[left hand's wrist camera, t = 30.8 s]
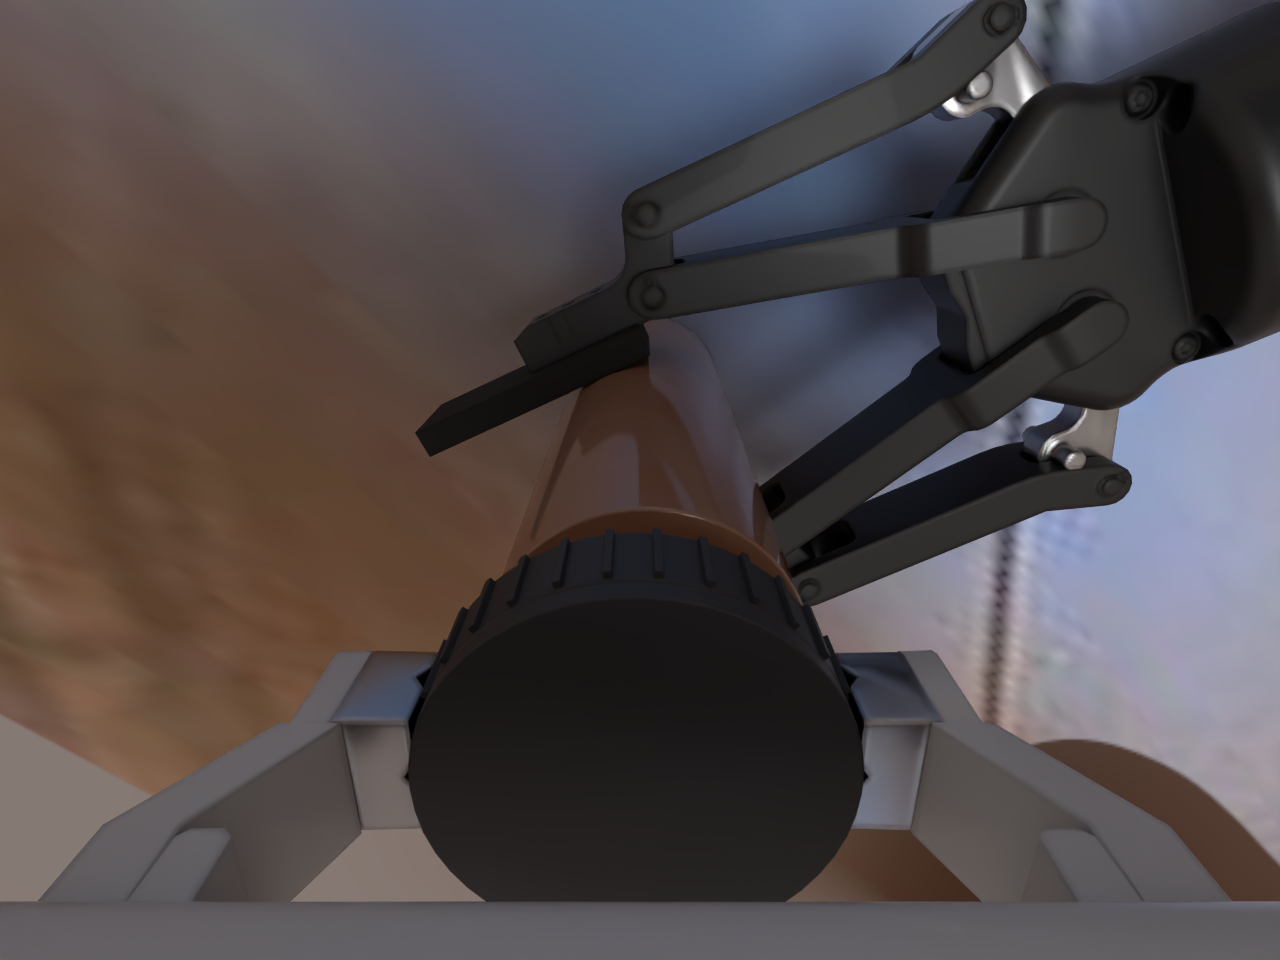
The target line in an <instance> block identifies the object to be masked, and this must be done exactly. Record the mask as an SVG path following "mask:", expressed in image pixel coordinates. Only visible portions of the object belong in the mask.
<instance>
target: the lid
mask: <svg viewBox="0 0 1280 960" xmlns="http://www.w3.org/2000/svg"><path fill="white" fill-rule="evenodd" d="M848 693H851V691H850V688H849V686H848V683H847V681H846V679H845V676H844V674H843V671H842V669H841V667H840V664H839V662H838V659H837V657H836V655H835V652H834V650H833V647H832V645H831V643H830V640H829V638H828V636H827V635H826V636H824V637H823V636H822V633H821V631H820V628H819V626H818V623H817V621H816V618H815V616H814V614H813V611H812V609H811V607H810V606H809V604H808V603H806V604H805V605H803V606H802V605H801V604H800V603H799V602H798V601H797V599H796V598H795V597H794V596H793V595H792V594H791V593H790V592H789V590H788V589H787V586H786V583H785V581H784V578H782V577H781V576H780V575H777V576H776V577H775V578H773V577H772V576H771V575H770V574H768V573H767V572H765V571H763V570H762V569H760V568H759V567H757V566H756V565H754V564H752V563H751V562H750V558H749V555H748V554H746V553H744V552H741V554H740V555H739V556H737V555H735V554H733V553H731V552H728V551H726V550H724V549H722V548H719V547H716V546H713V545H710V544H708V541H707V538H706V537H702V536H699V538H698V540H694V539H689V538H684V537H678V536H673V535H668V534H662V533H661V529H657V528H653V533H641V532H638V533H616V534H615V532H614V529H607V530H606V535H601V536H595V537H589V538H583V539H580V540H576V541H573V542H570V541H569V538H568V537H567V538H564V539H561V541H560V545H559V546H556V547H554V548H552V549H549V550H547V551H545V552H542V553H540V554H538V555H535V556H533V557H531V558H529V557H528V556H527V554H525V555H523V556H521V557H520V558H519V562H518V565H517V566H516V567H514V568H512V569H511V570H509V571H508V572H506V573H505V574H504V575H503V576H501V577H500V578H499V579H498V580H496V581H494V580H493V579H491V578H489V579H488V580H487V581H486V582H485V584H484V587H483V589H482V592H481V595H480V596H479V597H478V598H477V599H476V600H475V601H474V602H473V604H472V605H471V606H470V608H469V609H466V608H464V607H462V608H461V610H460V611H459V613H458V615H457V618H456V620H455V622H454V625H453V627H452V630H451V632H450V634H449V637H448V639H447V640H443V643H442V645H441V647H440V650H439V652H438V654H437V657H436V659H435V661H434V664H433V666H432V668H431V671H430V673H429V675H428V678H427V680H426V682H425V685H424V687H423V689H422V692H421V695H420V697H421V698H424V699H425V702H424V704H423V707H422V709H421V711H420V714H419V716H418V719H417V722H416V726H415V729H414V732H413V736H412V739H411V744H410V752H409V761H408V772H409V788H410V793H411V798H412V802H413V806H414V811H415V813H416V816H417V818H418V821H419V823H420V826H421V828H422V831H423V833H424V835H425V836H426V838H427V840H428V841H429V843H430V845H431V846H432V848H433V850H434V851H435V853H436V854H437V855H438V857H439V858H440V859H441V860H442V862H443V863H444V864H445V865H446V867H447V868H448V869H449V870H450V871H451V872H452V873H453V874H454V875H455V876H456V877H457V878H458V879H459V880H460V881H461V882H462V883H463V884H464V885H465V886H466V887H467V888H469V889H470V890H471V891H473V892H474V893H475V894H477V895H478V896H479V897H481V898H482V899H483V900H485V901H486V902H786V901H787V900H789V899H790V898H792V897H793V896H794V895H796V894H797V893H799V892H800V891H801V890H803V889H804V888H805V887H806V886H807V885H808V884H809V883H810V882H811V881H812V880H814V879H815V878H816V877H817V876H818V875H819V874H820V873H821V872H822V871H823V869H824V868H825V867H826V866H827V865H828V863H829V862H830V861H831V860H832V859H833V858H834V856H835V855H836V853H837V852H838V850H839V849H840V847H841V845H842V844H843V842H844V841H845V839H846V838H847V836H848V833H849V831H850V829H851V827H852V824H853V822H854V820H855V818H856V815H857V811H858V807H859V804H860V800H861V796H862V791H863V779H864V758H863V746H862V742H861V738H860V735H859V731H858V727H857V723H856V721H855V718H854V716H853V713H852V711H851V708H850V706H849V704H848V699H849V696H848Z"/></svg>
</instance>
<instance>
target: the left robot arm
mask: <svg viewBox="0 0 1280 960" xmlns="http://www.w3.org/2000/svg"><path fill="white" fill-rule="evenodd" d="M437 654H438V652H408V651H375V652H374V651H341V652H339V653H337V654H336V655H335V656H334V657H333V659H332V660H331V662H330V663H329V665H328V666H327V668H326V669H325V671H324V672H323V674H322V675H321V677H320V678H319V680H318V681H317V683H316V684H315V686H314V687H313V689H312V690H311V692H310V693H309V695H308V696H307V698H306V699H305V701H304V702H303V704H302V705H301V707H300V708H299V710H298V711H297V713H296V714H295V716H294V717H293V719H292V720H291V722H290V723H278V724H276V725H274V726H273V727H271V728H269V729H268V730H266V731H264V732H262V733H261V734H259V735H257V736H255V737H254V738H252V739H250V740H249V741H247V742H245V743H243V744H242V745H240V746H238V747H236V748H235V749H233V750H231V751H230V752H228V753H226V754H224V755H223V756H221V757H219V758H217V759H216V760H214V761H212V762H211V763H209V764H207V765H205V766H204V767H202V768H200V769H198V770H197V771H195V772H193V773H192V774H190V775H188V776H186V777H185V778H183V779H181V780H180V781H178V782H176V783H174V784H173V785H171V786H169V787H167V788H166V789H164V790H162V791H161V792H159V793H157V794H155V795H154V796H152V797H150V798H148V799H147V800H145V801H143V802H142V803H140V804H138V805H136V806H135V807H133V808H131V809H129V810H128V811H126V812H124V813H123V814H121V815H119V816H117V817H116V818H114V819H112V820H110V821H109V822H107V823H105V824H104V825H102V826H101V828H100V829H99V830H98V831H97V832H96V833H95V835H94V836H93V837H92V838H91V839H90V840H89V842H88V843H87V844H86V845H85V846H84V847H83V849H82V850H81V851H80V852H79V853H78V855H77V856H76V857H75V858H74V859H73V860H72V861H71V863H70V864H69V865H68V866H67V868H66V869H65V870H64V871H63V872H62V873H61V874H60V876H59V877H58V878H57V879H56V880H55V881H54V883H53V884H52V885H51V886H50V887H49V888H48V890H47V891H46V892H45V893H44V894H43V895H42V897H41V898H40V899H39V900H38V901H37V902H0V960H1280V902H1232V901H1231V899H1230V898H1229V897H1228V896H1227V895H1226V893H1225V892H1224V891H1223V890H1222V889H1221V887H1220V886H1219V885H1218V884H1217V883H1216V881H1215V880H1214V879H1213V878H1212V877H1211V875H1210V874H1209V873H1208V872H1207V871H1206V869H1205V868H1204V867H1203V866H1202V865H1201V863H1200V862H1199V861H1198V860H1197V859H1196V857H1195V856H1194V855H1193V854H1192V853H1191V851H1190V850H1189V849H1188V848H1187V847H1186V845H1185V844H1184V843H1183V842H1182V841H1181V839H1180V838H1179V837H1178V836H1177V835H1176V833H1175V832H1174V831H1173V830H1172V829H1171V827H1170V826H1168V825H1167V824H1165V823H1163V822H1162V821H1160V820H1158V819H1156V818H1155V817H1153V816H1151V815H1150V814H1148V813H1146V812H1144V811H1143V810H1141V809H1139V808H1138V807H1136V806H1134V805H1132V804H1131V803H1129V802H1127V801H1126V800H1124V799H1122V798H1121V797H1119V796H1117V795H1116V794H1114V793H1112V792H1110V791H1109V790H1107V789H1105V788H1104V787H1102V786H1100V785H1098V784H1097V783H1095V782H1093V781H1092V780H1090V779H1088V778H1086V777H1085V776H1083V775H1081V774H1080V773H1078V772H1076V771H1075V770H1073V769H1071V768H1069V767H1068V766H1066V765H1064V764H1063V763H1061V762H1059V761H1058V760H1056V759H1054V758H1052V757H1051V756H1049V755H1047V754H1046V753H1044V752H1042V751H1041V750H1039V749H1037V748H1035V747H1034V746H1032V745H1030V744H1029V743H1027V742H1025V741H1023V740H1022V739H1020V738H1018V737H1017V736H1015V735H1013V734H1012V733H1010V732H1008V731H1006V730H1005V729H1003V728H1001V727H1000V726H998V725H996V724H994V723H982V721H981V719H980V718H979V716H978V715H977V713H976V712H975V710H974V709H973V707H972V706H971V704H970V703H969V701H968V700H967V698H966V697H965V695H964V694H963V692H962V691H961V689H960V688H959V686H958V685H957V683H956V682H955V680H954V679H953V677H952V676H951V674H950V673H949V671H948V669H947V668H946V666H945V665H944V663H943V662H942V660H941V659H940V657H939V656H938V654H937V653H935V652H933V651H932V650H924V651H898V652H872V653H835V655H836V657H837V659H838V662H839V664H840V667H841V669H842V671H843V674H844V676H845V679H846V681H847V683H848V686H849V688H850V691H851V693H848V696H849V699H848V704H849V706H850V708H851V711H852V713H853V716H854V718H855V721H856V723H857V727H858V731H859V735H860V738H861V742H862V746H863V758H864V779H863V791H862V796H861V800H860V804H859V807H858V811H857V815H856V818H855V820H854V822H853V824H852V827H851V828H860V829H897V830H912V832H911V833H912V834H913V835H914V836H915V837H916V838H917V839H918V840H919V841H920V842H921V843H922V844H923V845H924V846H925V847H926V848H927V849H928V850H929V851H931V852H932V853H933V854H934V855H935V856H936V857H937V858H938V859H939V860H940V861H941V862H942V863H943V864H944V865H945V866H946V867H947V868H948V869H949V870H950V871H951V872H952V873H953V874H954V875H955V876H956V877H957V878H958V879H959V880H960V881H961V882H962V883H964V884H965V885H966V886H967V887H968V888H969V889H970V890H971V891H972V892H973V893H974V894H975V895H976V896H977V897H978V898H979V899H980V900H981V901H982V902H290V901H291V900H293V899H294V898H295V897H296V896H297V895H298V894H299V893H300V892H301V891H302V890H303V889H304V888H305V887H306V886H307V885H308V884H309V883H310V882H311V881H312V880H313V879H314V878H315V877H317V876H318V875H319V874H320V873H321V872H322V871H323V870H324V869H325V868H326V867H327V866H328V865H329V864H330V863H331V862H332V861H333V860H334V859H335V858H336V857H337V856H338V855H340V854H341V853H342V852H343V851H344V850H345V849H346V848H347V847H348V846H349V845H350V844H351V843H352V842H353V841H354V840H355V839H356V838H357V837H358V836H359V835H360V834H361V830H376V829H411V828H421V826H420V823H419V821H418V818H417V816H416V813H415V811H414V806H413V802H412V798H411V793H410V788H409V772H408V761H409V752H410V744H411V739H412V736H413V732H414V729H415V726H416V722H417V719H418V716H419V714H420V711H421V709H422V707H423V704H424V702H425V699H424V698H421V697H420V695H421V692H422V689H423V687H424V685H425V682H426V680H427V678H428V675H429V673H430V671H431V668H432V666H433V664H434V661H435V659H436V657H437Z"/></svg>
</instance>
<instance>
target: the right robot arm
mask: <svg viewBox="0 0 1280 960" xmlns="http://www.w3.org/2000/svg"><path fill="white" fill-rule="evenodd" d="M1026 15H1027V7H1026V4H1025V1H1024V0H973V1H971V2H969V3H967V4H966V5H964V6H962V7H960V8H959V9H957V10H955V11H954V12H952V13H950V14H949V15H947V16H946V17H944V18H943V19H941V20H940V21H939V22H938V23H937V24H936V25H935V26H934V27H933V28H932V29H931V30H930V31H928V32H927V33H926V34H925V35H924V36H923V37H922V38H921V39H920V40H919V41H918V42H917V43H916V44H915V45H914V46H913V47H912V48H911V49H910V50H909V51H908V52H907V53H906V54H905V55H904V56H903V57H902V58H901V59H900V60H898V61H897V62H896V63H895V64H894V65H893V66H892V67H891V68H890V69H889V70H888V71H887V72H886V73H884V74H882V75H879V76H877V77H875V78H873V79H871V80H869V81H867V82H865V83H862V84H860V85H858V86H856V87H854V88H852V89H850V90H848V91H845V92H843V93H841V94H839V95H837V96H835V97H833V98H831V99H828V100H826V101H824V102H822V103H820V104H818V105H816V106H814V107H811V108H809V109H807V110H805V111H803V112H801V113H799V114H796V115H794V116H792V117H790V118H788V119H786V120H784V121H782V122H779V123H777V124H775V125H773V126H771V127H769V128H767V129H765V130H762V131H760V132H758V133H756V134H754V135H752V136H750V137H748V138H745V139H743V140H741V141H739V142H737V143H735V144H733V145H731V146H728V147H726V148H724V149H722V150H720V151H718V152H716V153H714V154H711V155H709V156H707V157H705V158H703V159H701V160H699V161H697V162H694V163H692V164H690V165H688V166H686V167H684V168H682V169H680V170H677V171H675V172H673V173H671V174H669V175H667V176H665V177H663V178H660V179H658V180H656V181H654V182H652V183H650V184H648V185H646V186H643V187H641V188H639V189H637V190H636V191H634V192H633V193H631V194H630V195H629V196H628V197H627V199H626V201H625V202H624V204H623V208H622V221H623V232H624V244H625V255H626V257H625V265H624V267H623V269H622V271H621V273H620V274H619V275H618V276H617V277H616V278H615V279H613V280H612V281H610V282H608V283H606V284H604V285H602V286H600V287H598V288H595V289H593V290H591V291H589V292H587V293H585V294H583V295H581V296H579V297H577V298H575V299H573V300H571V301H568V302H567V303H564V304H562V305H560V306H558V307H556V308H554V309H552V310H550V311H548V312H546V313H544V314H541V315H539V316H537V317H535V318H534V319H533V320H532V321H531V322H530V323H529V325H528V326H527V327H526V328H525V329H524V330H523V331H522V333H521V334H520V335H519V336H518V337H517V339H516V340H515V341H514V343H515V345H516V347H517V349H518V351H519V353H520V354H521V356H522V358H523V360H524V362H525V364H526V365H525V366H522V367H520V368H518V369H516V370H514V371H512V372H510V373H508V374H505V375H503V376H501V377H499V378H497V379H495V380H493V381H491V382H488V383H486V384H484V385H482V386H480V387H478V388H476V389H474V390H471V391H469V392H467V393H465V394H463V395H461V396H459V397H457V398H454V399H452V400H450V401H448V402H446V403H444V404H442V405H441V406H440V407H439V408H438V409H437V410H436V411H435V412H434V413H433V414H432V415H431V416H430V417H429V418H428V420H427V421H426V422H425V423H424V424H423V425H422V426H421V427H420V428H419V429H418V430H417V431H416V432H415V433H416V435H417V437H418V438H419V440H420V441H421V443H422V445H423V446H424V448H425V450H426V451H427V453H428V455H429V456H430V457H431V456H433V455H435V454H437V453H439V452H442V451H444V450H446V449H448V448H450V447H453V446H455V445H457V444H459V443H461V442H463V441H466V440H468V439H470V438H472V437H474V436H477V435H479V434H481V433H483V432H485V431H487V430H490V429H492V428H494V427H496V426H498V425H500V424H503V423H505V422H507V421H509V420H511V419H514V418H516V417H518V416H520V415H522V414H524V413H527V412H529V411H531V410H533V409H535V408H538V407H540V406H542V405H544V404H546V403H548V402H551V401H553V400H555V399H557V398H559V397H561V396H564V395H566V394H568V393H570V392H572V391H575V390H577V389H579V388H581V387H583V386H585V385H588V384H590V383H592V382H594V381H596V380H599V379H601V378H603V377H605V376H607V375H609V374H612V373H614V372H616V371H618V370H620V369H622V368H625V367H627V366H629V365H631V364H633V363H636V362H638V361H640V360H642V359H644V358H646V357H649V356H650V346H649V335H648V333H647V331H646V329H645V326H644V323H646V322H648V321H650V320H661V319H666V318H672V317H678V316H683V315H689V314H695V313H701V312H706V311H712V310H718V309H723V308H729V307H735V306H741V305H746V304H752V303H758V302H763V301H769V300H775V299H781V298H786V297H792V296H798V295H804V294H809V293H815V292H821V291H826V290H832V289H838V288H844V287H849V286H855V285H861V284H866V283H872V282H878V281H884V280H889V279H895V278H902V277H920V280H921V283H922V285H923V286H924V288H925V289H926V291H927V292H928V294H929V295H930V297H931V298H932V300H933V301H934V303H935V304H936V307H937V335H938V339H939V342H940V346H939V347H937V348H936V349H934V350H933V351H932V352H930V353H929V354H928V355H926V356H925V357H924V358H922V359H921V360H920V361H919V362H917V363H916V364H915V365H914V367H913V368H912V370H911V373H910V375H909V376H908V377H907V378H906V379H905V380H904V381H902V382H901V383H900V384H898V385H897V386H896V387H894V388H893V389H892V390H890V391H889V392H887V393H886V394H885V395H883V396H882V397H881V398H879V399H878V400H877V401H875V402H874V403H873V404H871V405H870V406H869V407H867V408H866V409H864V410H863V411H862V412H860V413H859V414H858V415H856V416H855V417H854V418H852V419H851V420H850V421H848V422H847V423H845V424H844V425H843V426H841V427H840V428H839V429H837V430H836V431H835V432H833V433H832V434H831V435H829V436H828V437H827V438H825V439H824V440H822V441H821V442H820V443H818V444H817V445H816V446H814V447H813V448H812V449H810V450H809V451H808V452H806V453H805V454H803V455H802V456H801V457H799V458H798V459H797V460H795V461H794V462H793V463H791V464H790V465H789V466H787V467H786V468H784V469H783V470H782V471H780V472H779V473H778V474H776V475H775V476H774V477H772V478H771V479H770V480H768V481H767V482H766V483H764V484H763V485H761V486H760V490H761V493H762V495H763V498H764V501H765V504H766V506H767V509H768V512H769V514H770V517H771V520H772V523H773V525H774V528H775V531H776V533H777V536H778V539H779V542H780V544H781V547H782V550H783V552H784V555H785V558H786V561H787V563H788V566H789V569H790V571H791V574H792V577H793V579H794V582H795V585H796V588H797V590H798V593H799V596H800V598H801V601H802V604H803V605H805V604H806V603H808V604H809V606H814V605H817V604H820V603H822V602H825V601H827V600H830V599H832V598H835V597H837V596H839V595H842V594H844V593H847V592H849V591H852V590H854V589H857V588H859V587H862V586H864V585H866V584H869V583H871V582H874V581H876V580H879V579H881V578H884V577H886V576H888V575H891V574H893V573H896V572H898V571H901V570H903V569H906V568H908V567H911V566H913V565H915V564H918V563H920V562H923V561H925V560H928V559H930V558H933V557H935V556H938V555H940V554H942V553H945V552H947V551H950V550H952V549H955V548H957V547H960V546H962V545H964V544H967V543H969V542H972V541H974V540H977V539H979V538H982V537H984V536H987V535H989V534H991V533H994V532H996V531H999V530H1001V529H1004V528H1006V527H1009V526H1011V525H1014V524H1016V523H1018V522H1021V521H1023V520H1026V519H1028V518H1031V517H1033V516H1036V515H1038V514H1041V513H1043V512H1045V511H1054V510H1064V509H1074V508H1085V507H1095V506H1105V505H1110V504H1114V503H1116V502H1118V501H1119V500H1121V499H1123V498H1124V497H1125V495H1126V494H1127V493H1128V492H1129V490H1130V487H1131V484H1132V477H1131V474H1130V473H1129V471H1128V470H1127V469H1126V468H1124V467H1122V466H1120V465H1119V464H1117V463H1115V462H1113V461H1112V455H1113V448H1114V441H1115V434H1116V427H1117V420H1118V413H1119V408H1120V407H1123V406H1125V405H1127V404H1129V403H1131V402H1132V401H1134V400H1136V399H1137V398H1138V397H1140V396H1141V395H1142V394H1143V393H1144V392H1145V391H1146V390H1147V389H1148V388H1149V387H1150V386H1151V385H1152V384H1153V383H1154V382H1155V381H1156V380H1157V379H1159V378H1160V377H1161V376H1162V375H1164V374H1165V373H1167V372H1168V371H1170V370H1171V369H1173V368H1175V367H1177V366H1179V365H1182V364H1184V363H1188V362H1191V361H1195V360H1198V359H1202V358H1206V357H1210V356H1214V355H1217V354H1221V353H1224V352H1228V351H1231V350H1234V349H1237V348H1240V347H1242V346H1245V345H1247V344H1250V343H1252V342H1255V341H1257V340H1260V339H1262V338H1265V337H1267V336H1269V335H1272V334H1274V333H1277V332H1279V331H1280V1H1279V2H1276V3H1271V4H1267V5H1263V6H1260V7H1258V8H1255V9H1252V10H1250V11H1247V12H1245V13H1243V14H1241V15H1239V16H1237V17H1235V18H1233V19H1231V20H1229V21H1226V22H1224V23H1222V24H1220V25H1218V26H1216V27H1214V28H1212V29H1210V30H1207V31H1205V32H1203V33H1201V34H1199V35H1197V36H1195V37H1193V38H1191V39H1188V40H1186V41H1184V42H1182V43H1180V44H1178V45H1176V46H1174V47H1172V48H1170V49H1167V50H1165V51H1163V52H1161V53H1159V54H1157V55H1155V56H1153V57H1151V58H1148V59H1146V60H1144V61H1142V62H1140V63H1138V64H1136V65H1134V66H1132V67H1129V68H1127V69H1125V70H1123V71H1121V72H1119V73H1117V74H1115V75H1113V76H1111V77H1108V78H1106V79H1104V80H1102V81H1100V82H1097V83H1094V84H1085V83H1076V82H1063V83H1057V84H1054V85H1051V86H1050V85H1049V84H1048V82H1047V81H1046V79H1045V78H1044V76H1043V74H1042V73H1041V71H1040V70H1039V68H1038V67H1037V65H1036V64H1035V62H1034V61H1033V59H1032V58H1031V56H1030V55H1029V53H1028V52H1027V50H1026V48H1025V47H1024V45H1023V44H1022V42H1021V41H1020V39H1019V38H1018V36H1019V35H1020V34H1021V32H1022V30H1023V28H1024V25H1025V22H1026ZM980 111H984V112H986V113H989V114H991V115H992V117H993V118H994V119H995V121H994V123H993V124H992V126H991V127H990V129H989V130H988V132H987V133H986V135H985V136H984V138H983V139H982V141H981V142H980V144H979V145H978V147H977V148H976V150H975V151H974V153H973V154H972V156H971V157H970V159H969V160H968V162H967V163H966V165H965V166H964V168H963V169H962V171H961V172H960V174H959V175H958V177H957V178H956V180H955V181H954V183H953V184H952V186H951V187H950V189H949V190H948V192H947V193H946V195H945V196H944V198H943V199H942V201H941V202H940V204H939V205H938V207H937V208H936V209H933V210H927V211H922V212H916V213H911V214H905V215H900V216H894V217H888V218H883V219H879V220H875V221H873V222H870V223H864V224H859V225H853V226H848V227H842V228H837V229H831V230H826V231H820V232H815V233H809V234H803V235H798V236H792V237H787V238H781V239H776V240H770V241H765V242H759V243H754V244H748V245H742V246H737V247H731V248H726V249H720V250H715V251H709V252H704V253H698V254H692V255H687V256H681V257H676V258H674V252H673V237H672V232H673V231H675V230H677V229H679V228H681V227H683V226H686V225H688V224H690V223H692V222H694V221H697V220H699V219H701V218H703V217H705V216H708V215H710V214H712V213H714V212H716V211H718V210H721V209H723V208H725V207H727V206H729V205H732V204H734V203H736V202H738V201H740V200H743V199H745V198H747V197H749V196H751V195H753V194H756V193H758V192H760V191H762V190H764V189H767V188H769V187H771V186H773V185H775V184H778V183H780V182H782V181H784V180H786V179H788V178H791V177H793V176H795V175H797V174H799V173H802V172H804V171H806V170H808V169H810V168H813V167H815V166H817V165H819V164H821V163H823V162H826V161H828V160H830V159H832V158H834V157H837V156H839V155H841V154H843V153H845V152H848V151H850V150H852V149H854V148H856V147H858V146H861V145H863V144H865V143H867V142H869V141H872V140H874V139H876V138H878V137H880V136H883V135H885V134H887V133H889V132H891V131H893V130H896V129H898V128H900V127H902V126H904V125H907V124H909V123H911V122H913V121H915V120H917V119H919V118H921V117H923V116H925V115H926V114H928V113H930V112H931V113H932V114H933V115H934V116H935V117H936V118H938V119H940V120H942V121H952V120H956V119H961V118H965V117H970V116H972V115H974V114H976V113H978V112H980ZM1030 397H1031V398H1036V399H1041V400H1046V401H1051V402H1056V403H1061V404H1064V407H1063V409H1062V411H1061V412H1060V414H1059V415H1058V416H1057V417H1056V418H1054V419H1053V420H1051V421H1049V422H1046V423H1044V424H1041V425H1038V426H1030V427H1028V428H1026V430H1025V431H1024V432H1023V435H1022V438H1023V441H1024V442H1017V443H1011V444H1006V445H1003V446H999V447H995V448H992V449H989V450H987V451H984V452H981V453H979V454H976V455H974V456H972V457H969V458H967V459H965V460H962V461H960V462H958V463H955V464H953V465H951V466H948V467H946V468H944V469H941V470H939V471H936V472H934V473H932V474H929V475H927V476H925V477H922V478H920V479H918V480H915V481H913V482H911V483H908V484H906V485H904V486H901V487H899V488H897V489H894V490H892V491H890V492H887V493H885V494H883V495H880V496H878V497H876V498H873V499H871V500H869V501H866V500H868V499H869V498H871V497H872V496H874V495H875V494H876V493H878V492H879V491H881V490H882V489H884V488H885V487H886V486H888V485H889V484H891V483H892V482H894V481H895V480H896V479H898V478H899V477H901V476H902V475H904V474H905V473H906V472H908V471H909V470H911V469H912V468H913V467H915V466H916V465H918V464H919V463H921V462H922V461H923V460H925V459H926V458H928V457H929V456H931V455H932V454H933V453H935V452H936V451H938V450H939V449H941V448H942V447H943V446H945V445H946V444H948V443H949V442H951V441H952V440H953V439H955V438H956V437H958V436H959V435H961V434H962V433H964V432H967V431H974V430H980V429H983V428H986V427H988V426H989V425H991V424H993V423H994V422H996V421H997V420H999V419H1000V418H1001V417H1003V416H1004V415H1006V414H1007V413H1009V412H1010V411H1012V410H1013V409H1014V408H1016V407H1017V406H1019V405H1020V404H1022V403H1023V402H1024V401H1026V400H1027V399H1029V398H1030ZM865 501H866V502H865Z"/></svg>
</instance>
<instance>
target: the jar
mask: <svg viewBox="0 0 1280 960" xmlns="http://www.w3.org/2000/svg"><path fill="white" fill-rule="evenodd" d="M644 326H645V329H646V331H647V333H648V335H649V346H650V356H649V357H646V358H644V359H642V360H640V361H638V362H636V363H633V364H631V365H629V366H627V367H625V368H622V369H620V370H618V371H616V372H614V373H612V374H609V375H607V376H605V377H603V378H601V379H599V380H596V381H594V382H592V383H590V384H588V385H585V386H583V387H581V388H579V389H577V390H575V391H572V392H570V394H569V397H568V399H567V402H566V405H565V407H564V410H563V413H562V416H561V418H560V421H559V424H558V426H557V429H556V432H555V435H554V437H553V440H552V443H551V445H550V448H549V451H548V454H547V456H546V459H545V462H544V464H543V467H542V470H541V473H540V475H539V478H538V481H537V483H536V486H535V489H534V492H533V494H532V497H531V500H530V503H529V505H528V508H527V511H526V513H525V516H524V519H523V522H522V524H521V527H520V530H519V532H518V535H517V538H516V541H515V543H514V546H513V549H512V551H511V554H510V557H509V560H508V562H507V565H506V568H505V570H504V573H503V575H504V574H505V573H506V572H508V571H509V570H511V569H512V568H514V567H516V566H517V565H518V562H519V558H520V557H521V556H523V555H525V554H527V556H528V557H529V558H531V557H533V556H535V555H538V554H540V553H542V552H545V551H547V550H549V549H552V548H554V547H556V546H559V545H560V541H561V539H564V538H567V537H568V538H569V541H570V542H573V541H576V540H580V539H583V538H589V537H595V536H601V535H606V530H607V529H614V532H615V534H616V533H638V532H641V533H653V528H657V529H661V533H662V534H668V535H673V536H678V537H684V538H689V539H694V540H698V538H699V536H702V537H706V538H707V541H708V544H710V545H713V546H716V547H719V548H722V549H724V550H726V551H728V552H731V553H733V554H735V555H737V556H739V555H740V554H741V552H744V553H746V554H748V555H749V558H750V562H751V563H752V564H754V565H756V566H757V567H759V568H760V569H762V570H763V571H765V572H767V573H768V574H770V575H771V576H772V577H773V578H775V577H776V576H777V575H780V576H781V577H782V578H784V581H785V583H786V586H787V589H788V590H789V592H790V593H791V594H792V595H793V596H794V597H795V598H796V599H797V601H798V602H799V603H800V604H801V605H802V606H803V604H802V601H801V598H800V596H799V593H798V590H797V588H796V585H795V582H794V579H793V577H792V574H791V571H790V569H789V566H788V563H787V561H786V558H785V555H784V552H783V550H782V547H781V544H780V542H779V539H778V536H777V533H776V531H775V528H774V525H773V523H772V520H771V517H770V514H769V512H768V509H767V506H766V504H765V501H764V498H763V495H762V493H761V490H760V487H759V485H758V482H757V479H756V477H755V474H754V471H753V468H752V466H751V463H750V460H749V458H748V455H747V452H746V449H745V447H744V444H743V441H742V439H741V436H740V433H739V430H738V428H737V425H736V422H735V420H734V417H733V414H732V411H731V409H730V406H729V403H728V401H727V398H726V395H725V393H724V390H723V387H722V384H721V382H720V379H719V376H718V374H717V371H716V368H715V365H714V363H713V360H712V358H711V356H710V353H709V352H708V350H707V348H706V347H705V345H704V344H703V343H702V341H701V340H700V339H699V338H698V337H697V336H696V335H695V334H694V333H693V332H692V331H690V330H689V329H687V328H686V327H685V326H683V325H681V324H679V323H677V322H675V321H672V320H669V319H661V320H650V321H648V322H646V323H644Z"/></svg>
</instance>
